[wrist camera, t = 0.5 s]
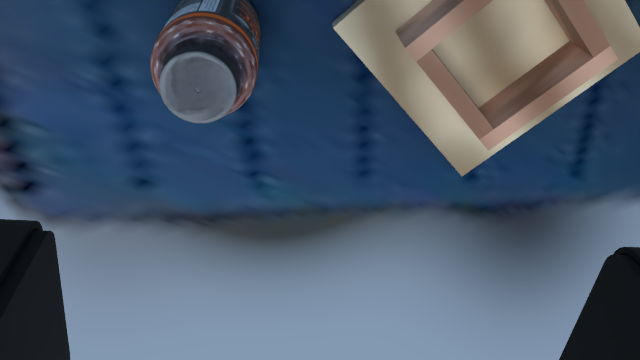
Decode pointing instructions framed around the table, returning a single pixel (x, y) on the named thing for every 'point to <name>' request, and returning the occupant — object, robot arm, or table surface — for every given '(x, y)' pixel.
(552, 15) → the bottle holder
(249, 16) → the supplement bottle
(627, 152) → the table surface
